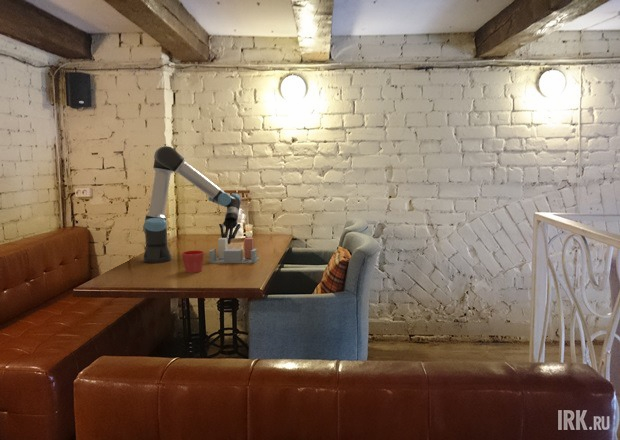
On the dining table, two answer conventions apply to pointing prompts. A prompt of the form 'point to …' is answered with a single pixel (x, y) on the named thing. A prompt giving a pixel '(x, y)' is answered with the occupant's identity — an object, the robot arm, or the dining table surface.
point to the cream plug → (222, 247)
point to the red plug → (248, 247)
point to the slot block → (232, 256)
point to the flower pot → (193, 261)
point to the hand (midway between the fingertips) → (225, 247)
